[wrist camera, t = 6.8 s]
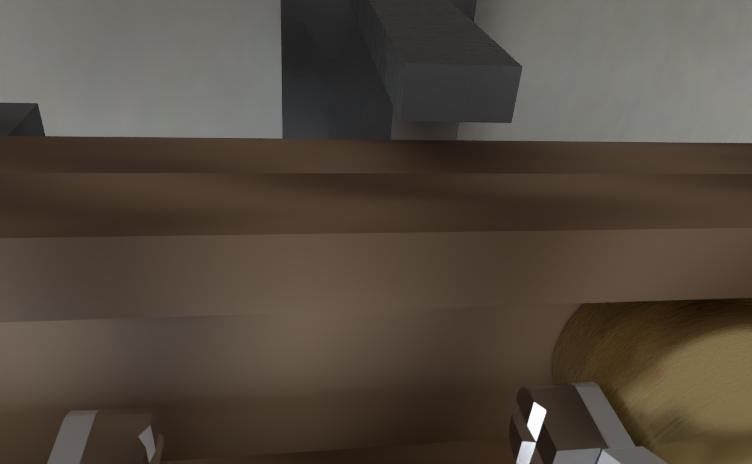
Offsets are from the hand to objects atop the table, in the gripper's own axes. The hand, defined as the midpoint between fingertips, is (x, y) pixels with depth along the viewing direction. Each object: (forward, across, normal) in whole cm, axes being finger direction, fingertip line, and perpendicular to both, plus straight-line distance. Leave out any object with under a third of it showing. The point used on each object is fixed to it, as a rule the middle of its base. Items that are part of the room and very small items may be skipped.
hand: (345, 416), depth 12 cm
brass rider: (+2, +7, 0) cm, 8 cm away
